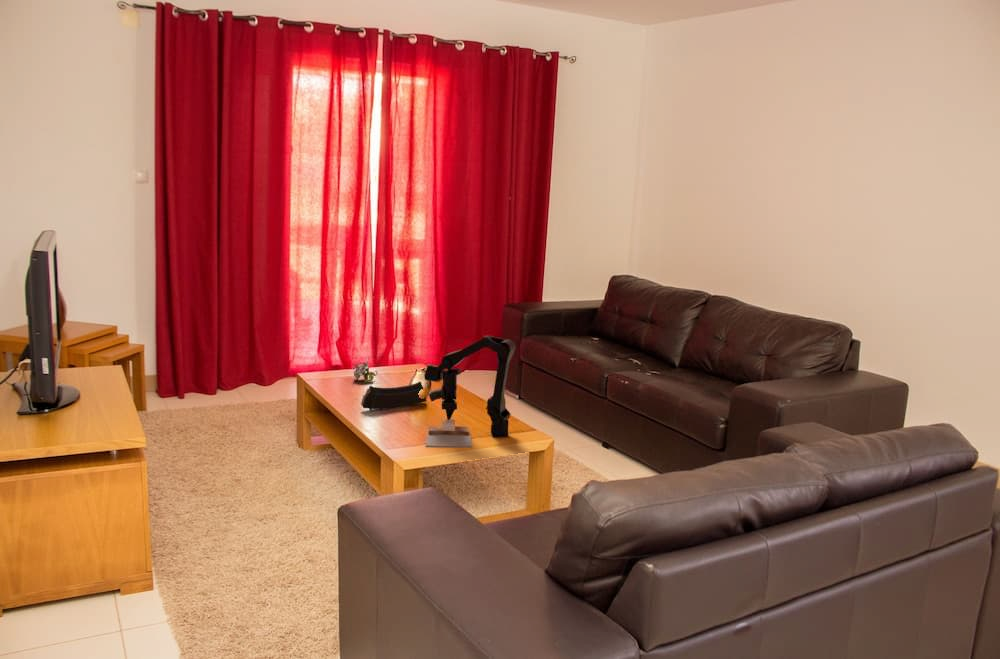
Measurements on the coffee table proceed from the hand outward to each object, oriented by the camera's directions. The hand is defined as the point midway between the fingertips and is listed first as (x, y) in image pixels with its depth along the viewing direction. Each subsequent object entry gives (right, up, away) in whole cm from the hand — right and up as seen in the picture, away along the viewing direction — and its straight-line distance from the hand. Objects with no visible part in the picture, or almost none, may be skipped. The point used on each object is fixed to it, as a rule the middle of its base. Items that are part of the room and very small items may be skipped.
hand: (448, 419), depth 341 cm
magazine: (-26, +3, +24) cm, 36 cm away
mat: (+1, -7, -17) cm, 18 cm away
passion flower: (-46, +12, +65) cm, 80 cm away
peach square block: (0, -3, -8) cm, 8 cm away
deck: (0, -5, -7) cm, 9 cm away
